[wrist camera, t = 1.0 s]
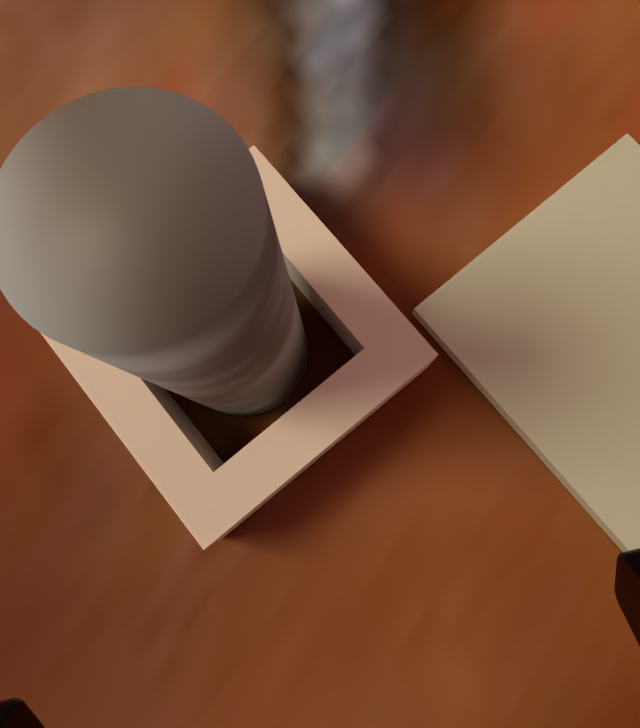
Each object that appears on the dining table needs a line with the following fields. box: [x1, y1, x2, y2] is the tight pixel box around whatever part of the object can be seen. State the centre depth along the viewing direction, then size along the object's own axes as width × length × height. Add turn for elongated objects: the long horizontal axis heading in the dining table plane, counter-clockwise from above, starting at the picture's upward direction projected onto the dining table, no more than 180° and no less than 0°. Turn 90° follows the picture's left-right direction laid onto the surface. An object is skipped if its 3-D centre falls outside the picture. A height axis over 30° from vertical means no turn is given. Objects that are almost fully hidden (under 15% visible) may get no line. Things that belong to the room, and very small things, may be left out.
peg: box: [0, 87, 308, 417], centre depth 17 cm, size 5×5×13 cm
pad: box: [412, 133, 640, 552], centre depth 22 cm, size 11×12×1 cm
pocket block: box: [40, 146, 438, 550], centre depth 22 cm, size 10×10×3 cm
